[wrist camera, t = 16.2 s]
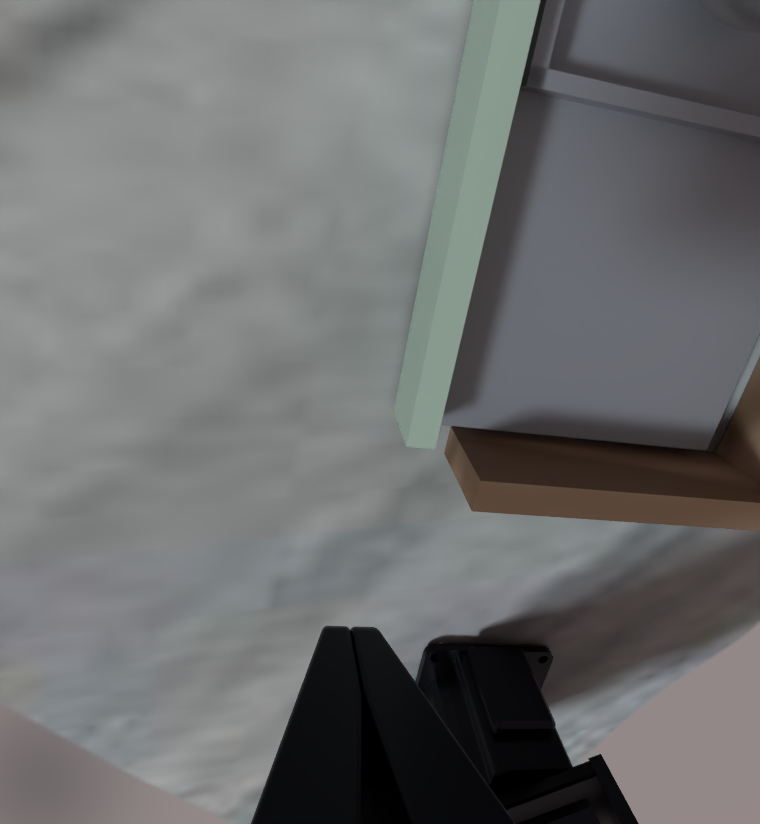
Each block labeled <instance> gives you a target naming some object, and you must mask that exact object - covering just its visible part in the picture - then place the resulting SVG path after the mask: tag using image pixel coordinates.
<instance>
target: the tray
mask: <svg viewBox="0 0 760 824" xmlns="http://www.w3.org/2000/svg"><path fill="white" fill-rule="evenodd" d="M759 334H760V33H758V32H746V31H739V30H736V29H733V28H731V27H728V26H725V25H723V24H721V23H720V22H718V21H717V20H716V19H714V18H713V17H712V16H710V15H709V14H708V13H706V11H705V10H704V9H703V7H702V6H701V5H700V4H699V2H698V1H697V0H474V2H473V8H472V13H471V18H470V23H469V28H468V33H467V38H466V43H465V49H464V54H463V59H462V64H461V69H460V74H459V79H458V84H457V89H456V95H455V100H454V105H453V110H452V115H451V120H450V125H449V130H448V136H447V141H446V146H445V151H444V156H443V161H442V166H441V171H440V176H439V182H438V187H437V192H436V197H435V202H434V207H433V212H432V217H431V223H430V228H429V233H428V238H427V243H426V248H425V253H424V258H423V264H422V269H421V274H420V279H419V284H418V289H417V294H416V299H415V304H414V310H413V315H412V320H411V325H410V330H409V335H408V340H407V345H406V351H405V356H404V361H403V366H402V371H401V376H400V381H399V386H398V391H397V397H396V402H395V407H394V414H395V417H396V419H397V422H398V425H399V428H400V430H401V433H402V436H403V439H404V442H405V444H406V447H415V448H427V449H435V448H436V443H437V439H438V435H439V431H440V426H441V425H448V426H458V427H468V428H478V429H489V430H499V431H509V432H519V433H530V434H540V435H550V436H561V437H571V438H581V439H591V440H602V441H612V442H622V443H633V444H643V445H653V446H663V447H674V448H684V449H694V450H704V451H707V449H708V446H709V444H710V442H711V440H712V437H713V435H714V433H715V431H716V429H717V426H718V424H719V422H720V420H721V418H722V415H723V413H724V411H725V409H726V407H727V404H728V402H729V400H730V398H731V396H732V393H733V391H734V389H735V387H736V385H737V382H738V380H739V378H740V376H741V374H742V371H743V369H744V367H745V365H746V363H747V360H748V358H749V356H750V354H751V352H752V349H753V347H754V345H755V343H756V341H757V338H758V336H759Z"/></svg>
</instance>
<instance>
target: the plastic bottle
mask: <svg viewBox="0 0 760 824" xmlns="http://www.w3.org/2000/svg"><path fill="white" fill-rule="evenodd" d="M697 1H698V2H699V4H700V5H701V6H702V7H703V9H704V10H705V11H706V13H708V14H709V15H710V16H712V17H713V18H714V19H716V20H717V21H718V22H720V23H721V24H723V25H725V26H728V27H731V28H733V29H736V30H739V31H746V32H758V33H760V0H697Z"/></svg>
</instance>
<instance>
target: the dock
mask: <svg viewBox="0 0 760 824" xmlns="http://www.w3.org/2000/svg"><path fill="white" fill-rule="evenodd" d="M445 456H446V458H447V460H448V462H449V464H450V466H451V468H452V470H453V472H454V474H455V476H456V479H457V481H458V483H459V485H460V487H461V489H462V491H463V493H464V495H465V497H466V500H467V502H468V504H469V506H470V508H471V510H472V511H477V512H492V513H506V514H521V515H536V516H550V517H565V518H580V519H594V520H609V521H624V522H638V523H653V524H668V525H682V526H697V527H712V528H726V529H741V530H756V531H760V358H759V360H758V362H757V364H756V367H755V369H754V371H753V373H752V375H751V377H750V380H749V382H748V384H747V386H746V388H745V390H744V393H743V395H742V397H741V399H740V401H739V403H738V406H737V408H736V410H735V412H734V414H733V416H732V419H731V421H730V423H729V425H728V427H727V429H726V432H725V434H724V436H723V438H722V440H721V442H720V444H719V447H718V449H717V451H716V452H706V451H696V450H685V449H675V448H665V447H655V446H644V445H634V444H624V443H613V442H603V441H593V440H582V439H572V438H562V437H551V436H541V435H531V434H520V433H510V432H500V431H490V430H479V429H469V428H459V427H451V429H450V433H449V437H448V441H447V445H446V449H445Z"/></svg>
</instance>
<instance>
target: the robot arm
mask: <svg viewBox="0 0 760 824" xmlns="http://www.w3.org/2000/svg"><path fill="white" fill-rule="evenodd" d="M434 654H435V655H434ZM552 660H553V656H552V654H551V652H550V650H549V648H548V647H546V646H534V645H487V644H441V643H435V644H430V645H428V646H427V647H426V648H425V649H424V651H423V655H422V659H421V662H420V666H419V670H418V674H417V677H416V681H414V679H413V678H412V676H411V675H410V674H409V672H408V671H407V669H406V668H405V667H404V665H403V664H402V662H401V661H400V659H399V658H398V657H397V655H396V654H395V652H394V651H393V650H392V648H391V647H390V645H389V644H388V643H387V641H386V640H385V638H384V637H383V635H382V634H381V633H380V631H379V630H378V629H377V628H375V627H353V628H351V630H350V629H349V628H348V627H346V626H325V627H324V628H323V630H322V632H321V635H320V637H319V640H318V643H317V645H316V648H315V651H314V654H313V656H312V659H311V662H310V664H309V667H308V670H307V673H306V675H305V678H304V681H303V683H302V686H301V689H300V692H299V694H298V697H297V700H296V702H295V705H294V708H293V711H292V713H291V716H290V719H289V722H288V724H287V727H286V730H285V732H284V735H283V738H282V741H281V743H280V746H279V749H278V751H277V754H276V757H275V760H274V762H273V765H272V768H271V770H270V773H269V776H268V779H267V781H266V784H265V787H264V789H263V792H262V795H261V798H260V800H259V803H258V806H257V808H256V811H255V814H254V817H253V819H252V822H251V824H638V822H637V820H636V818H635V816H634V815H633V813H632V811H631V809H630V807H629V805H628V803H627V801H626V800H625V798H624V796H623V794H622V792H621V790H620V789H619V787H618V785H617V783H616V781H615V779H614V777H613V776H612V774H611V772H610V770H609V768H608V766H607V765H606V763H605V761H604V759H603V757H602V755H601V754H599V755H596V756H594V757H591V758H589V761H588V762H585V763H583V764H580V765H577V766H575V767H573V766H572V764H571V762H570V759H569V757H568V755H567V753H566V750H565V748H564V746H563V744H562V741H561V739H560V737H559V735H558V732H557V730H556V728H555V721H554V719H553V716H552V714H551V712H550V710H549V707H548V705H547V703H546V701H545V699H544V696H543V694H542V692H541V688H542V685H543V683H544V680H545V678H546V675H547V673H548V670H549V668H550V665H551V663H552Z"/></svg>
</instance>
